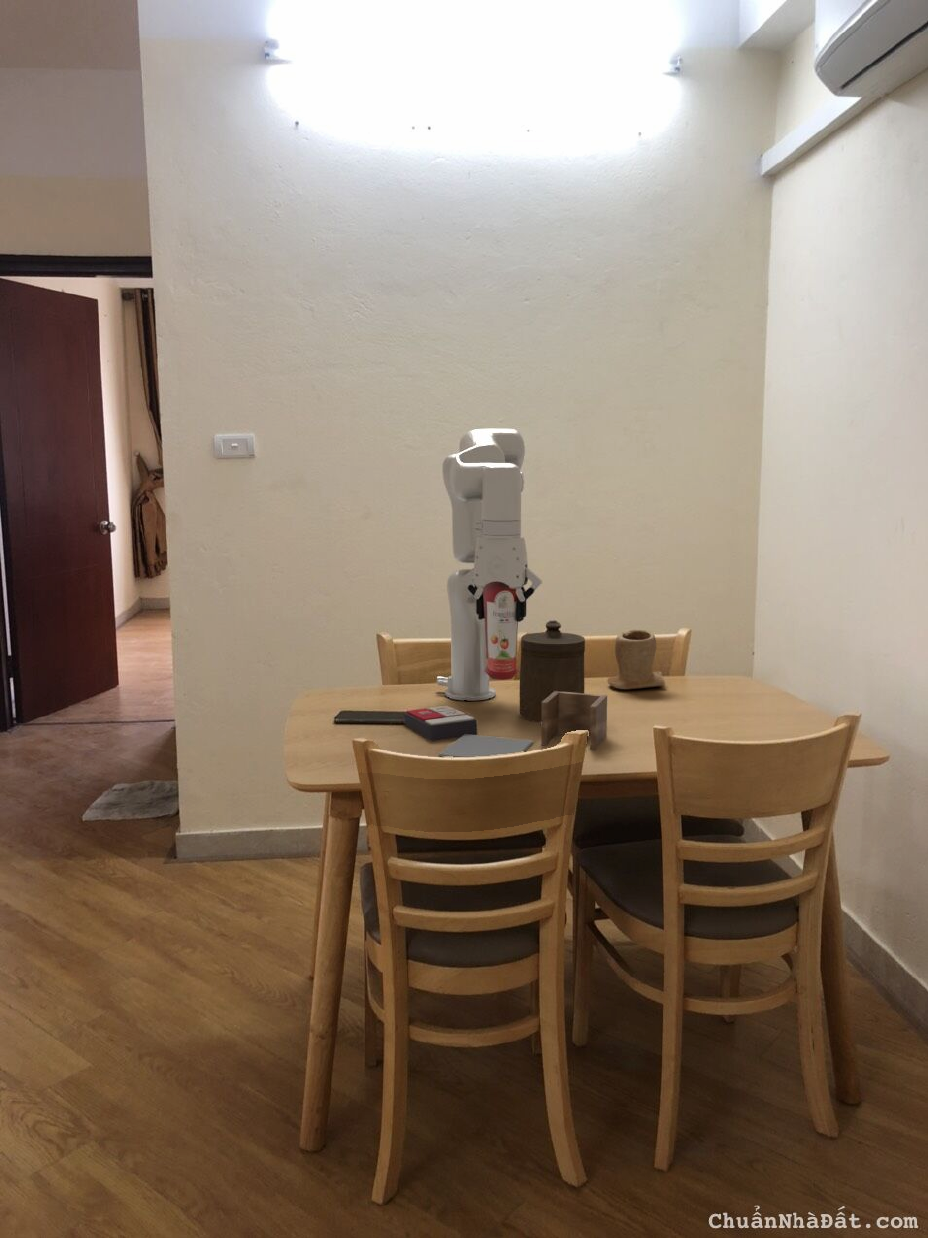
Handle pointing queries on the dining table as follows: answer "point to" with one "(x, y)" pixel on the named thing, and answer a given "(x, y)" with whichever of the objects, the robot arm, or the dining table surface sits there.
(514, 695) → the dining table surface
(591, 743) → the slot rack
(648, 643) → the stone cup
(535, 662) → the wooden container
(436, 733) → the navy red white box
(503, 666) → the liquor
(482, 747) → the slate mat
